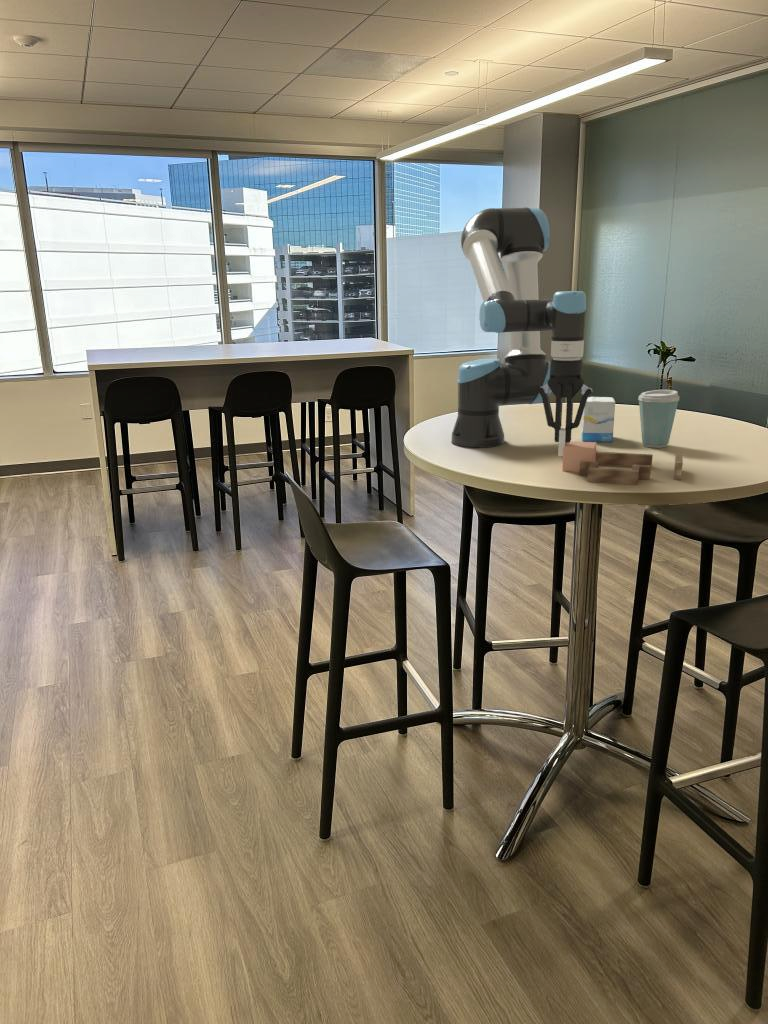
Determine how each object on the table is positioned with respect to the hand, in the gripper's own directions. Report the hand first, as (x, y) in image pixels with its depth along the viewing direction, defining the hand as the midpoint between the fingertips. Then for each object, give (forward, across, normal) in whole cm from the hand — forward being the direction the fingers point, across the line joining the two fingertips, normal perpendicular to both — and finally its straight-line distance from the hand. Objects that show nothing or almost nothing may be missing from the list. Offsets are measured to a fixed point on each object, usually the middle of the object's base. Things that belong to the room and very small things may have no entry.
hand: (561, 455), depth 185 cm
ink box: (+3, +4, +36) cm, 37 cm away
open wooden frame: (+3, +16, -2) cm, 17 cm away
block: (+3, +4, 0) cm, 5 cm away
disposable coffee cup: (+3, +21, +32) cm, 38 cm away
